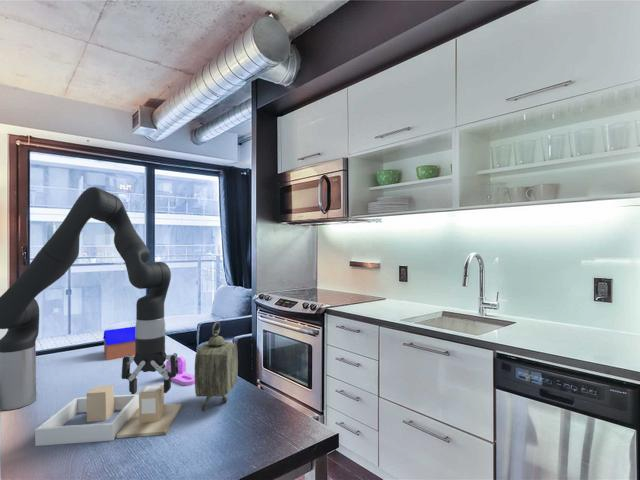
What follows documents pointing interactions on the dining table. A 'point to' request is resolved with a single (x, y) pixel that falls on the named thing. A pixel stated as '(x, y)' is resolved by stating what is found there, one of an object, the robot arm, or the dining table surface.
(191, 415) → the dining table surface
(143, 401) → the labelled box
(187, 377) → the bracket
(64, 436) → the bin
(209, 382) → the tabletop clock
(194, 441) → the dining table surface
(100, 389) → the plain box
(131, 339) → the house
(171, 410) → the board
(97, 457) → the dining table surface
